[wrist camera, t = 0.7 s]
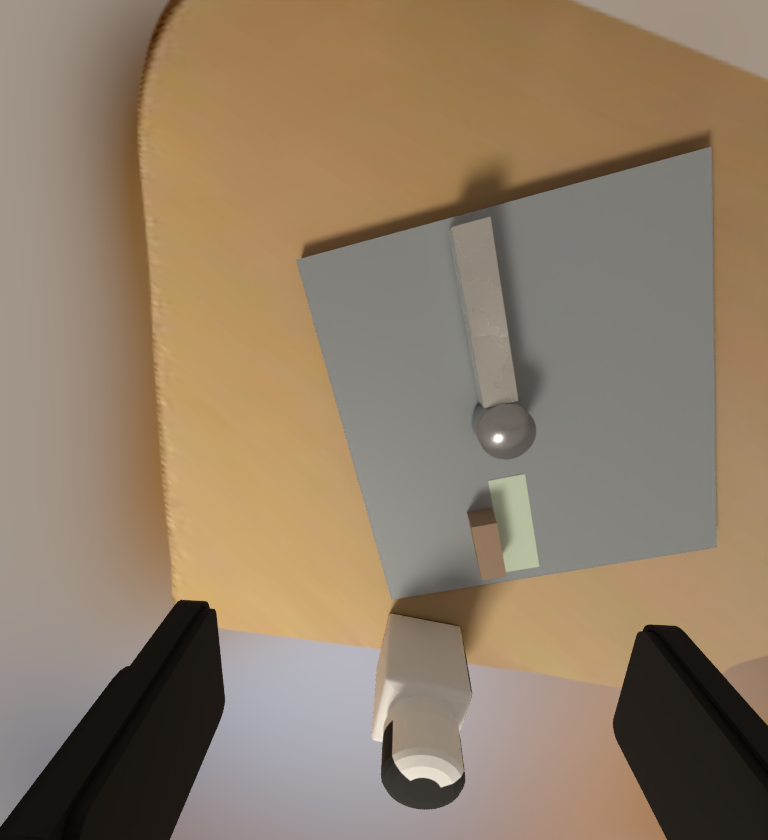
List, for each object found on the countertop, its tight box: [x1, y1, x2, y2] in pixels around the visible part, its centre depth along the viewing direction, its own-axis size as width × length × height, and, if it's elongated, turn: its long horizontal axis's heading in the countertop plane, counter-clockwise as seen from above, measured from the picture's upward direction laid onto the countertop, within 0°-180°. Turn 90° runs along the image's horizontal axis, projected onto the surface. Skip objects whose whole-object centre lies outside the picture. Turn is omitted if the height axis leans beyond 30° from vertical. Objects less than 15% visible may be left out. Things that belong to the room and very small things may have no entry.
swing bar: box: [448, 217, 536, 460], centre depth 27 cm, size 16×4×3 cm, turn 13°
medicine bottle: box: [372, 614, 472, 809], centre depth 33 cm, size 7×7×12 cm
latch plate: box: [296, 146, 717, 600], centre depth 30 cm, size 28×30×4 cm
